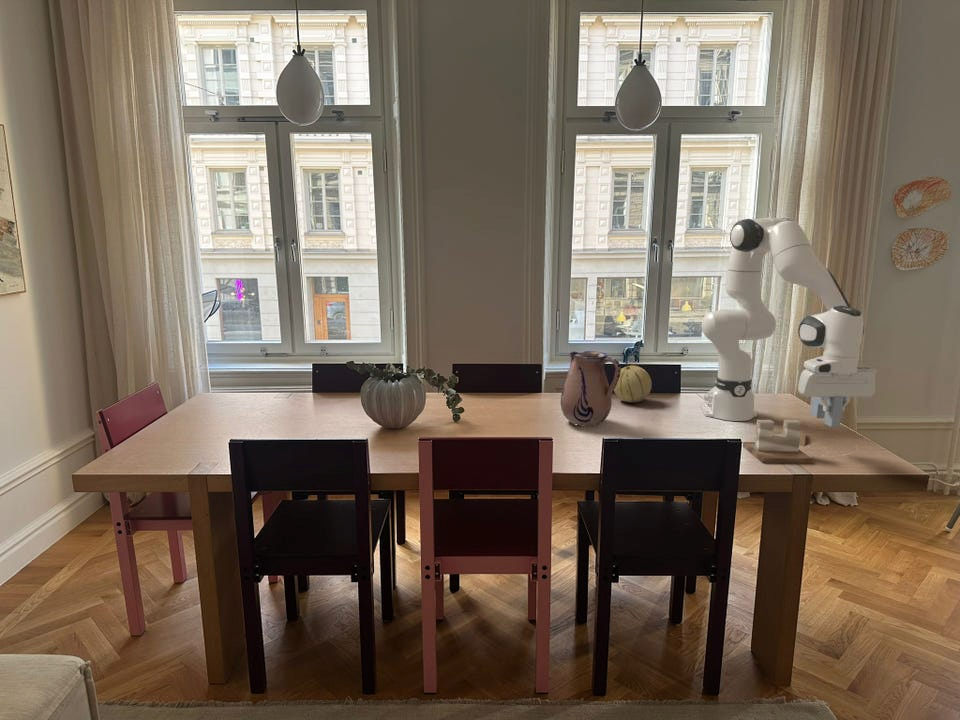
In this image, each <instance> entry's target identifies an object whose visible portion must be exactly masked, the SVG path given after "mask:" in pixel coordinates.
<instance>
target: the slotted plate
mask: <svg viewBox="0 0 960 720" xmlns="http://www.w3.org/2000/svg"><path fill="white" fill-rule="evenodd" d="M843 400H844V397H829V400H827V403H828V404H829V405H831V406H832V407H831V411H830V412H825V411H823V403H822V401H821V399H820V397H811V402H810V409H809V415H810V416H812V417H813V418H815V419H823V424H825V425H827V426H829V427H831V428H840V426H841V420H842V413H843V412H842V407H843Z"/></svg>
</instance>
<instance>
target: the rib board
mask: <svg viewBox="0 0 960 720" xmlns="http://www.w3.org/2000/svg"><path fill="white" fill-rule="evenodd" d="M774 428H775V421H773V420H772V419H757V420H756V429H755V436H754V437H755V438H754V440H755V441H743V442H742V447H743V448H744V449H745V450H746V451H747V452H748V453H750V454H751V455H752V456H753V457H754V458H756V459H757V460H758V461H760V462H761V464H812V459H813V458H812V457H811V456H809V455H807V454H806V453H805V452H803V451H802V450H800V449H799V448H800V445H799V441H800V432H802V430H801V429H802V421H800V420H798V419H784V420H783V425H782V429H783V434H773V429H774Z"/></svg>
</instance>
